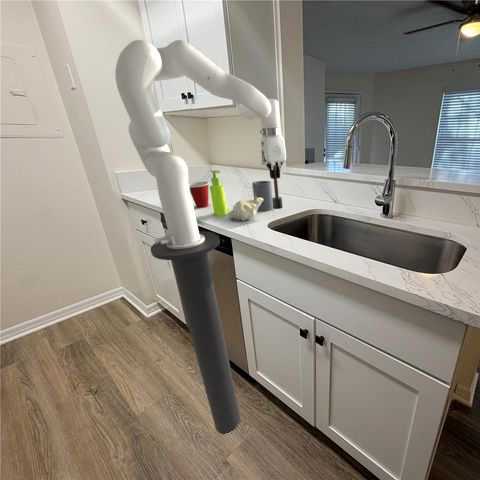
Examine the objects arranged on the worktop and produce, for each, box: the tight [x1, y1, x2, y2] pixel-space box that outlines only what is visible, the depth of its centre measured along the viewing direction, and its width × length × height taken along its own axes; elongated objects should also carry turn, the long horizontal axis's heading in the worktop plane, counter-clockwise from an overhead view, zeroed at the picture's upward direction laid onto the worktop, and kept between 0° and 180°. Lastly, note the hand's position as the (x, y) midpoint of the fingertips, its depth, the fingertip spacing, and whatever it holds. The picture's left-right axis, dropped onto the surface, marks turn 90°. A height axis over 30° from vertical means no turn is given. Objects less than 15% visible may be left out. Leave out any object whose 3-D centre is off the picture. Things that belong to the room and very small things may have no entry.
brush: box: [272, 164, 284, 210], centre depth 116 cm, size 4×4×19 cm
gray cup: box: [251, 180, 274, 212], centre depth 127 cm, size 9×9×13 cm
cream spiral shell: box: [226, 197, 264, 221], centre depth 114 cm, size 15×7×15 cm
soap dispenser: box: [209, 169, 229, 217], centre depth 118 cm, size 6×7×20 cm
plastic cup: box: [189, 181, 210, 209], centre depth 133 cm, size 11×11×12 cm
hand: (275, 177), depth 114 cm, fingers closed on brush
